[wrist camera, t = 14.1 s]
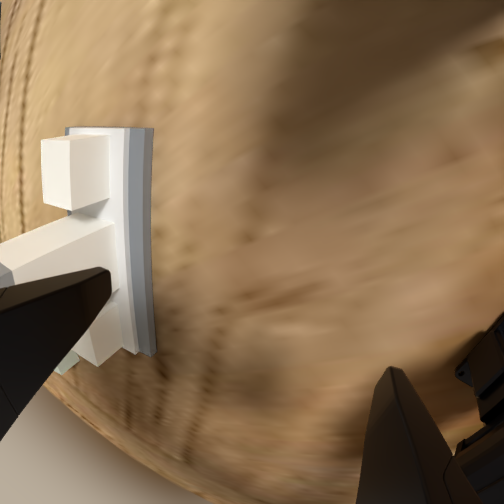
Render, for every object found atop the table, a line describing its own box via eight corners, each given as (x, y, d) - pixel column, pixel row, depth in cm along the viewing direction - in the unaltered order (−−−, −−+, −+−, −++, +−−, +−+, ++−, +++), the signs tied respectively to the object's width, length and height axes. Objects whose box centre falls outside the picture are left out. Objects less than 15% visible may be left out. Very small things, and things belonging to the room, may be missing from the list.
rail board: (153, 128, 22) (97, 133, 17) (156, 351, 30) (122, 384, 26) (73, 126, 25) (24, 133, 20) (89, 317, 33) (55, 341, 29)
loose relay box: (71, 336, 38) (50, 351, 34) (80, 359, 39) (61, 375, 36) (48, 326, 40) (29, 339, 37) (57, 348, 41) (39, 361, 38)
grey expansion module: (114, 223, 24) (-13, 283, 14) (119, 287, 27) (14, 359, 16) (77, 212, 26) (-37, 260, 16) (83, 271, 28) (-15, 330, 18)
